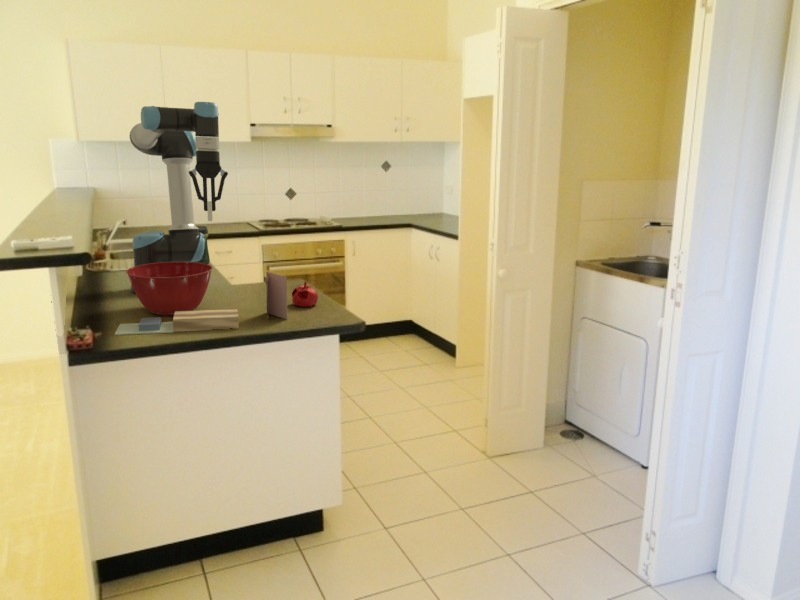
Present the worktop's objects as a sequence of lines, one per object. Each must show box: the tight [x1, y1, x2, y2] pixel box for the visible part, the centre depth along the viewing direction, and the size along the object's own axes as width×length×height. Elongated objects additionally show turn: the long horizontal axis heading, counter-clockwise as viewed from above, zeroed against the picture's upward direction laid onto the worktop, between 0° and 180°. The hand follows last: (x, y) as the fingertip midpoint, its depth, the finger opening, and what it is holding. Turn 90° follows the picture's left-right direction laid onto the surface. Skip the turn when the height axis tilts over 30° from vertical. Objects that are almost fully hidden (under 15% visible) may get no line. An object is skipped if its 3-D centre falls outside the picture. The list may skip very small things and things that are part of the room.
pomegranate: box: [291, 280, 319, 308], centre depth 236 cm, size 10×10×9 cm
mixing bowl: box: [125, 262, 213, 317], centre depth 221 cm, size 28×28×15 cm
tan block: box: [172, 308, 240, 333], centre depth 206 cm, size 10×20×4 cm, turn 106°
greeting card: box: [263, 271, 288, 320], centre depth 218 cm, size 11×7×15 cm, turn 13°
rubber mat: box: [114, 321, 175, 336], centre depth 201 cm, size 11×17×1 cm, turn 106°
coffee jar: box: [195, 225, 211, 265], centre depth 305 cm, size 10×8×19 cm
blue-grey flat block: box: [138, 316, 162, 331], centre depth 201 cm, size 8×6×2 cm
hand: (210, 220), depth 216 cm, fingers closed
